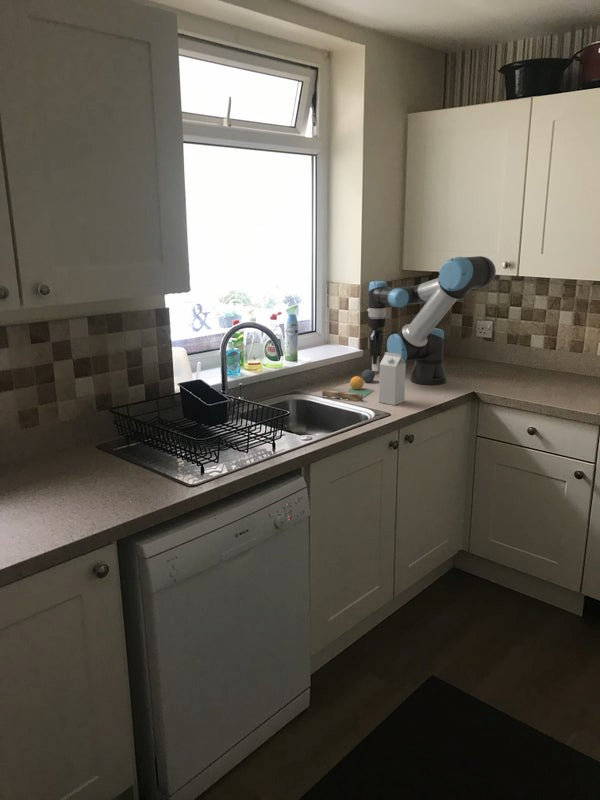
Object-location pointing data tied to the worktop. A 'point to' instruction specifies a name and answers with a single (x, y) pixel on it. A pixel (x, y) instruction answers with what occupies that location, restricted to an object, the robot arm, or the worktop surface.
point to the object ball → (356, 382)
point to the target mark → (360, 391)
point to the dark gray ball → (368, 375)
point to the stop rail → (343, 395)
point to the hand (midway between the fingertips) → (375, 370)
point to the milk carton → (392, 379)
